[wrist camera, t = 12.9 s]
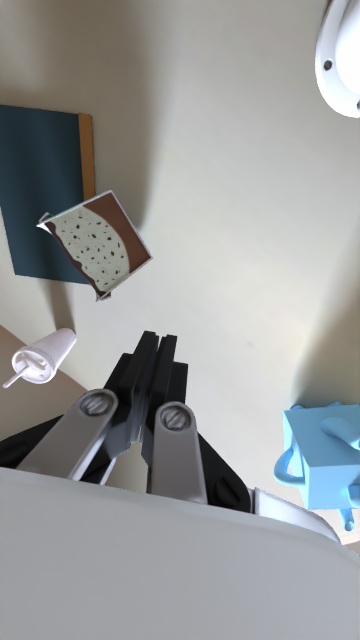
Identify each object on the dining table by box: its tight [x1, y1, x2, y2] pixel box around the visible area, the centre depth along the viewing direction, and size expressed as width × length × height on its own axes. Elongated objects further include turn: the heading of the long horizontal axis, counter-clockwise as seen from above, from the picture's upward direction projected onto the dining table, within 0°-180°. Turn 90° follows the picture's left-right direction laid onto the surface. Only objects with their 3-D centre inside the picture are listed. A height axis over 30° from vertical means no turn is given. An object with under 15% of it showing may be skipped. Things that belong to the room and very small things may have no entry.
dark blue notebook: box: [0, 105, 95, 286], centre depth 32 cm, size 22×14×1 cm, turn 173°
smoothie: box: [3, 328, 77, 388], centre depth 35 cm, size 6×6×14 cm
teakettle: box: [274, 401, 360, 531], centre depth 39 cm, size 19×19×15 cm
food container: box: [36, 189, 153, 302], centre depth 31 cm, size 12×6×10 cm
